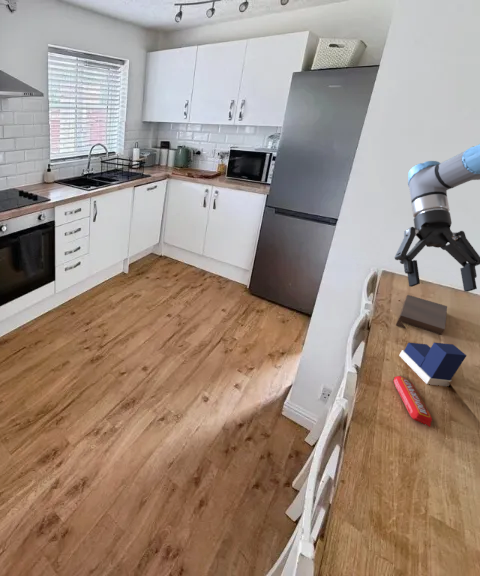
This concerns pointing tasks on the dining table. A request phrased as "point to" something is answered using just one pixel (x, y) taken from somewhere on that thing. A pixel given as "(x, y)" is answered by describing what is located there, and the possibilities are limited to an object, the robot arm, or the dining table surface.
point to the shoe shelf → (423, 314)
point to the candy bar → (412, 400)
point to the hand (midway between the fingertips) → (442, 287)
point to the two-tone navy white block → (433, 361)
